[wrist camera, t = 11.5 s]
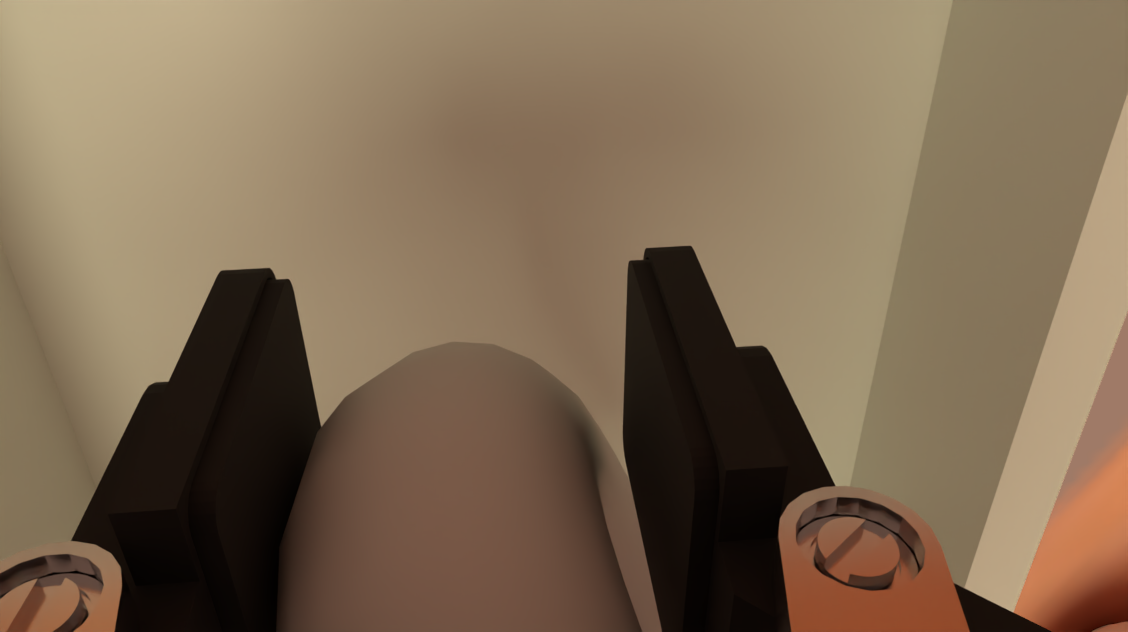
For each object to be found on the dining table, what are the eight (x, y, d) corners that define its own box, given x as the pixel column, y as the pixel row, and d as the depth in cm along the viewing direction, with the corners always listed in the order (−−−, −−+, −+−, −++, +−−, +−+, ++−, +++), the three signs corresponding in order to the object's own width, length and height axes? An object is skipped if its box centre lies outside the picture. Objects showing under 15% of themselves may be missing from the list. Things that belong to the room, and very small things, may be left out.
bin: (867, 533, 25) (967, 732, 20) (106, 593, 24) (10, 823, 19) (1085, -399, 14) (1425, -473, 9) (-303, -395, 13) (-802, -480, 8)
